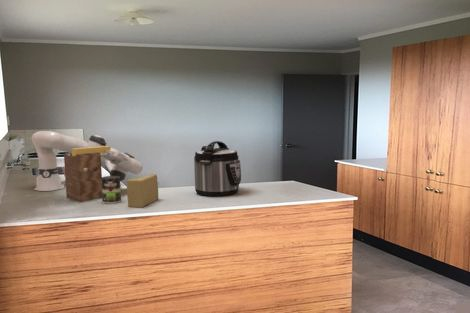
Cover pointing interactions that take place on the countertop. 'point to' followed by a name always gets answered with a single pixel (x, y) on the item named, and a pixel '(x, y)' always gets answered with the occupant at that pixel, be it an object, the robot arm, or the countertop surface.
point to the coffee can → (111, 189)
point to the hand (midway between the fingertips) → (102, 149)
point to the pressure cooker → (217, 170)
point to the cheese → (142, 190)
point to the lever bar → (90, 150)
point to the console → (83, 176)
